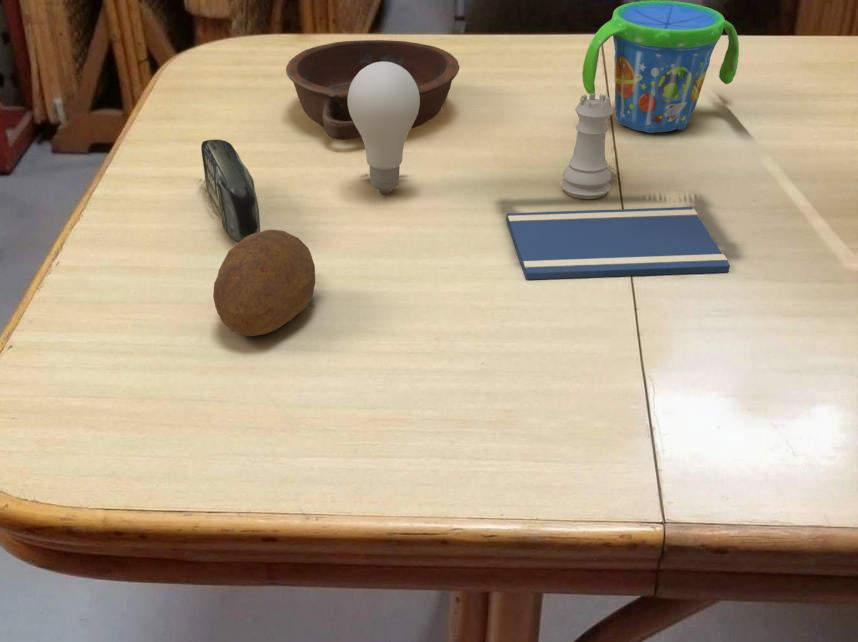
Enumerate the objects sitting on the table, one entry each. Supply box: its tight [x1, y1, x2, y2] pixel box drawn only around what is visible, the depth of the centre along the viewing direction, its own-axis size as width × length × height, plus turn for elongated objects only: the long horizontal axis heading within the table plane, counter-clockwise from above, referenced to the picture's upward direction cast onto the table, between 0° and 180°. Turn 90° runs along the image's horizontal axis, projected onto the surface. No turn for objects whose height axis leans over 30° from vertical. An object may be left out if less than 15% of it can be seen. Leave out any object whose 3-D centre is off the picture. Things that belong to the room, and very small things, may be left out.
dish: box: [285, 39, 460, 141], centre depth 109 cm, size 18×22×5 cm
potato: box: [212, 229, 316, 337], centre depth 77 cm, size 7×10×6 cm
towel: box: [505, 206, 731, 281], centre depth 87 cm, size 16×11×1 cm
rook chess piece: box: [560, 93, 614, 200], centre depth 93 cm, size 4×4×8 cm
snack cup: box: [581, 0, 740, 134], centre depth 105 cm, size 16×10×10 cm
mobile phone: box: [200, 139, 261, 243], centre depth 90 cm, size 5×3×15 cm
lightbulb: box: [348, 62, 420, 194], centre depth 92 cm, size 6×6×11 cm
